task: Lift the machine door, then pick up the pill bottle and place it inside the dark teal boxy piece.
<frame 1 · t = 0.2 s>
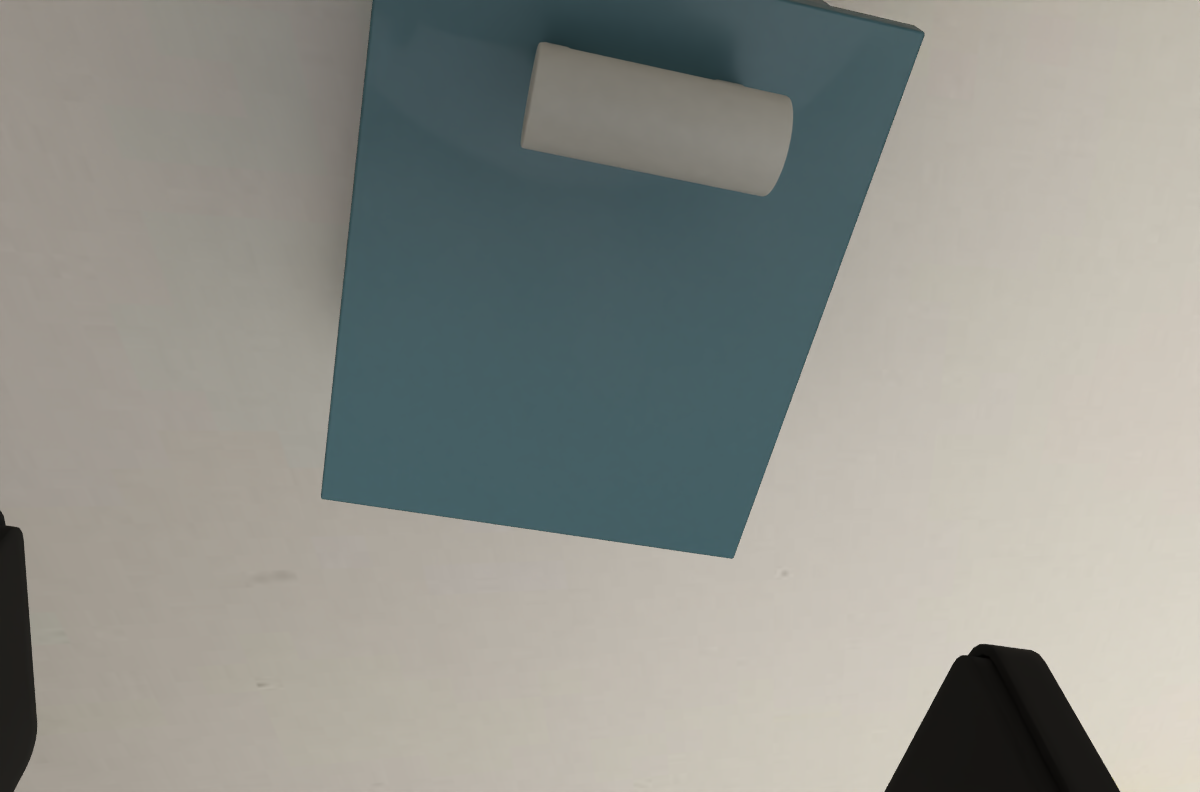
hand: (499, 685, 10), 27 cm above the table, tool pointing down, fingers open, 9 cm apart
machine door: (592, 325, 24), point 12 cm above the table, hinge at 0.0°
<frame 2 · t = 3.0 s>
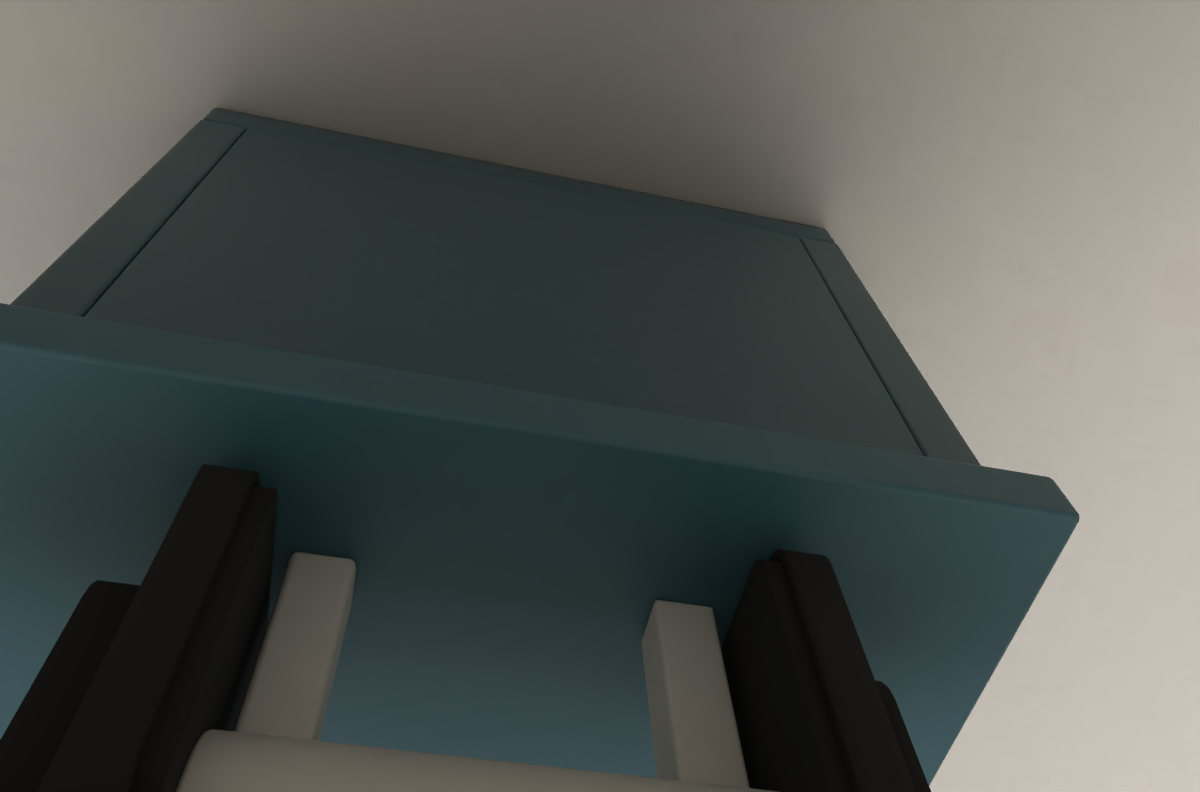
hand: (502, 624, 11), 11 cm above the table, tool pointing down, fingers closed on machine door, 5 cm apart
dark teal boxy piece: (475, 474, 23), on the table
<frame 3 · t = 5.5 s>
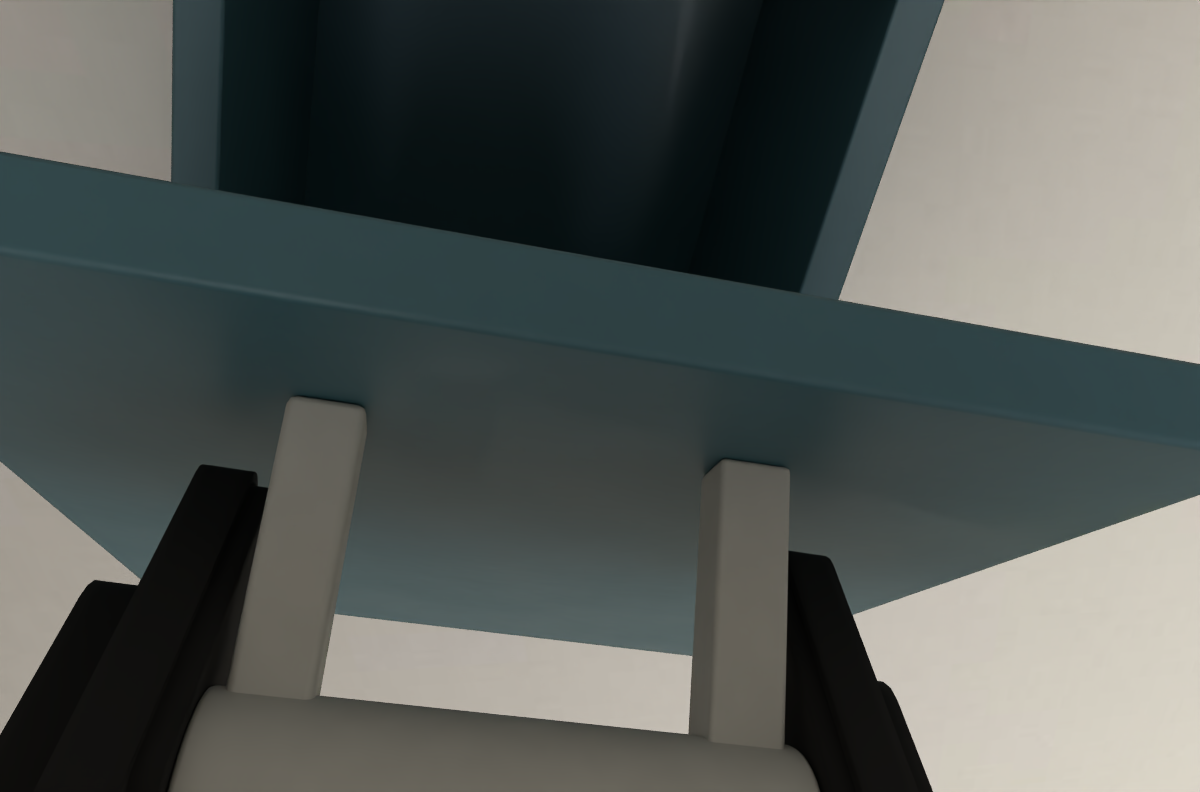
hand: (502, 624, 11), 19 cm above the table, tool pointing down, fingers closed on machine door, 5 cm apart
dark teal boxy piece: (517, 141, 27), on the table
machine door: (470, 688, 14), point 17 cm above the table, hinge at 39.5°, touching gripper
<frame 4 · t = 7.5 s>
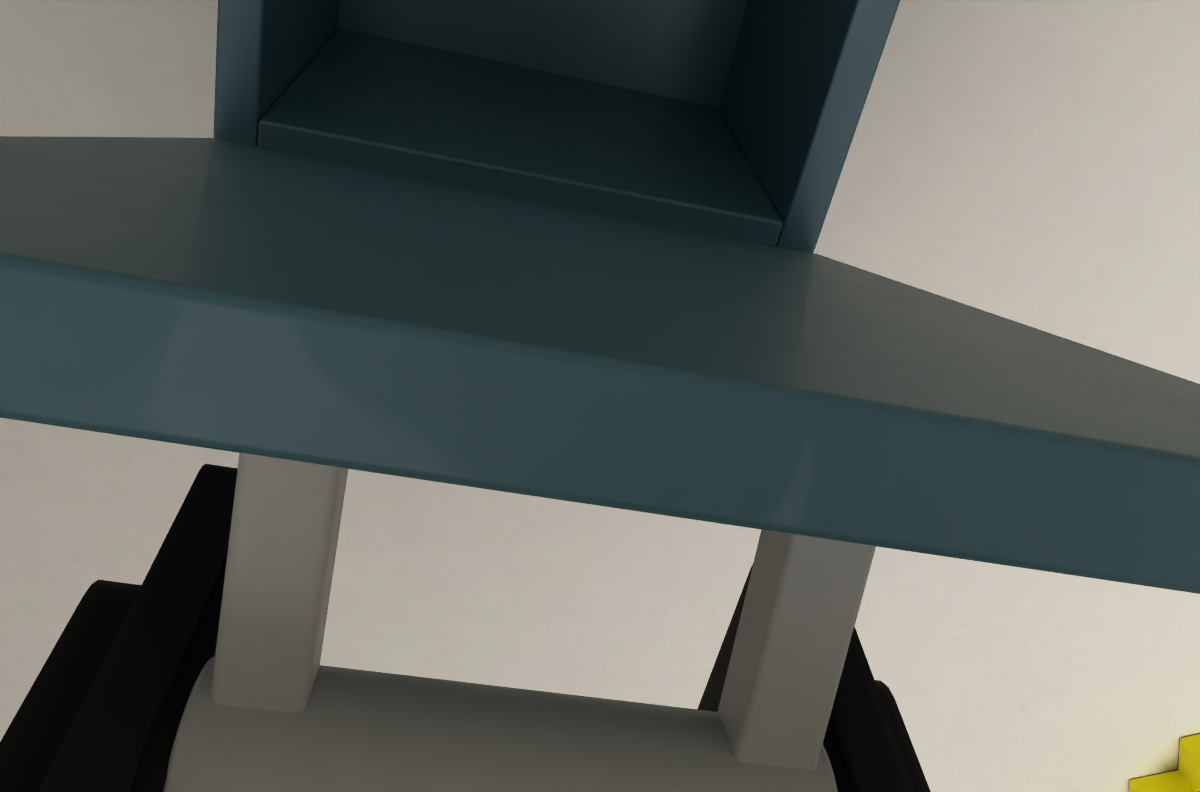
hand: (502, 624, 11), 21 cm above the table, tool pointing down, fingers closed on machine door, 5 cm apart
machine door: (517, 437, 13), point 18 cm above the table, hinge at 73.4°, touching gripper
crumpled paper: (1192, 789, 46), on the table
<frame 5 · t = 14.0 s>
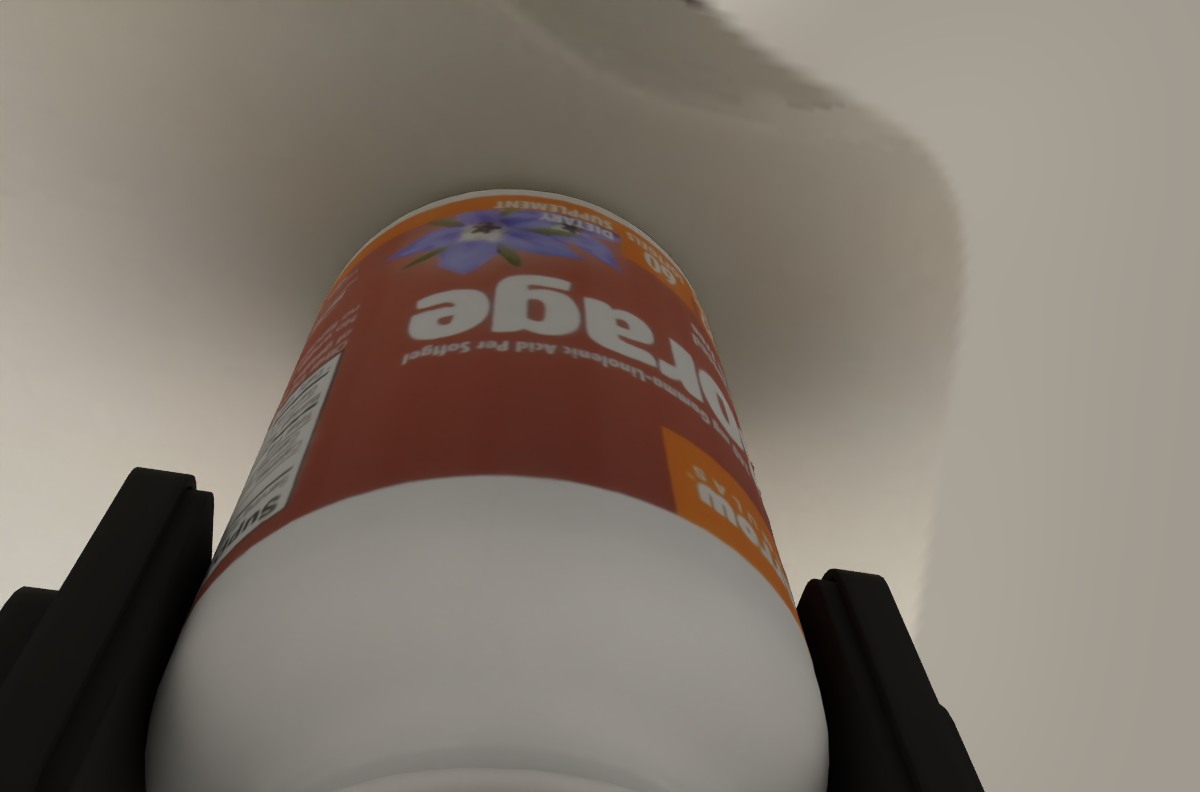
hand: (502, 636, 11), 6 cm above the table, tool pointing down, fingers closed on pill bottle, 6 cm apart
pill bottle: (514, 358, 16), on the table, touching gripper
when the fingers open (9 cm above the table, at t = 23.8 s): pill bottle stays where it is, resting on dark teal boxy piece.
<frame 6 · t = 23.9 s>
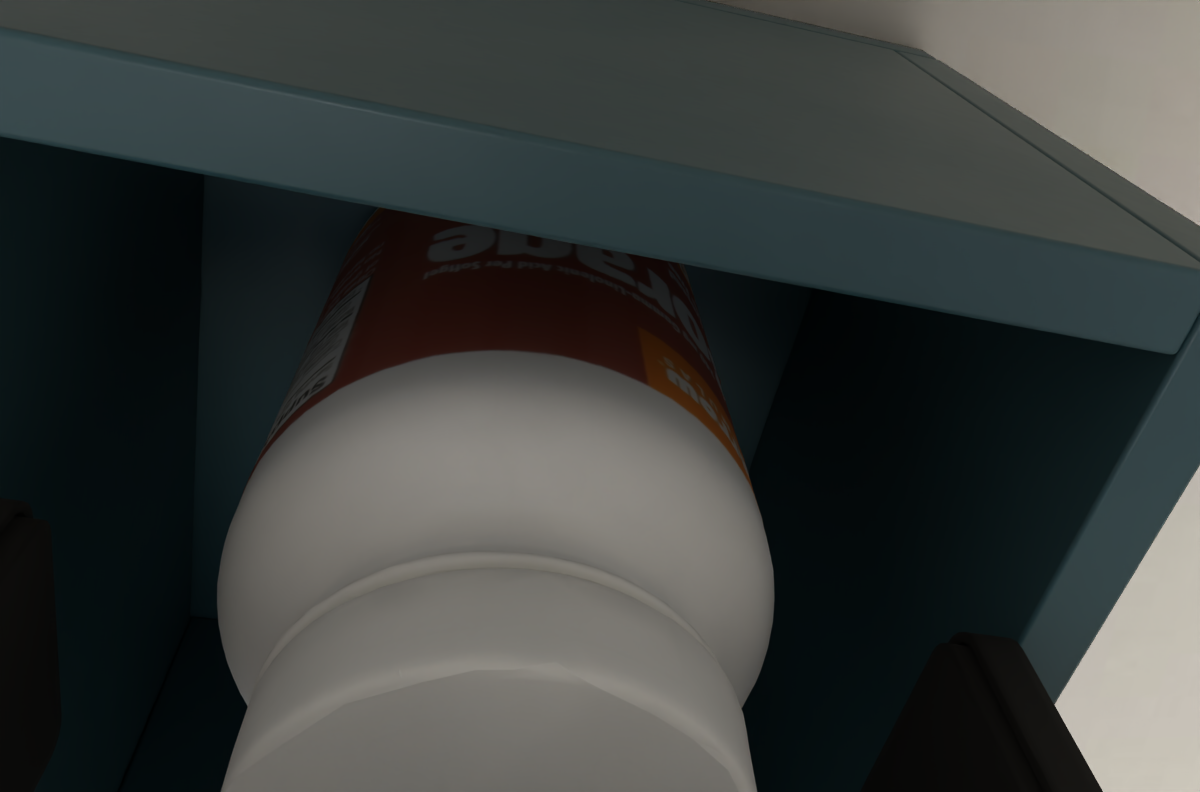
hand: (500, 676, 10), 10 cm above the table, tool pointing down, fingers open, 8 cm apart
dark teal boxy piece: (494, 367, 20), on the table
pill bottle: (515, 306, 18), point 1 cm above the table, touching dark teal boxy piece
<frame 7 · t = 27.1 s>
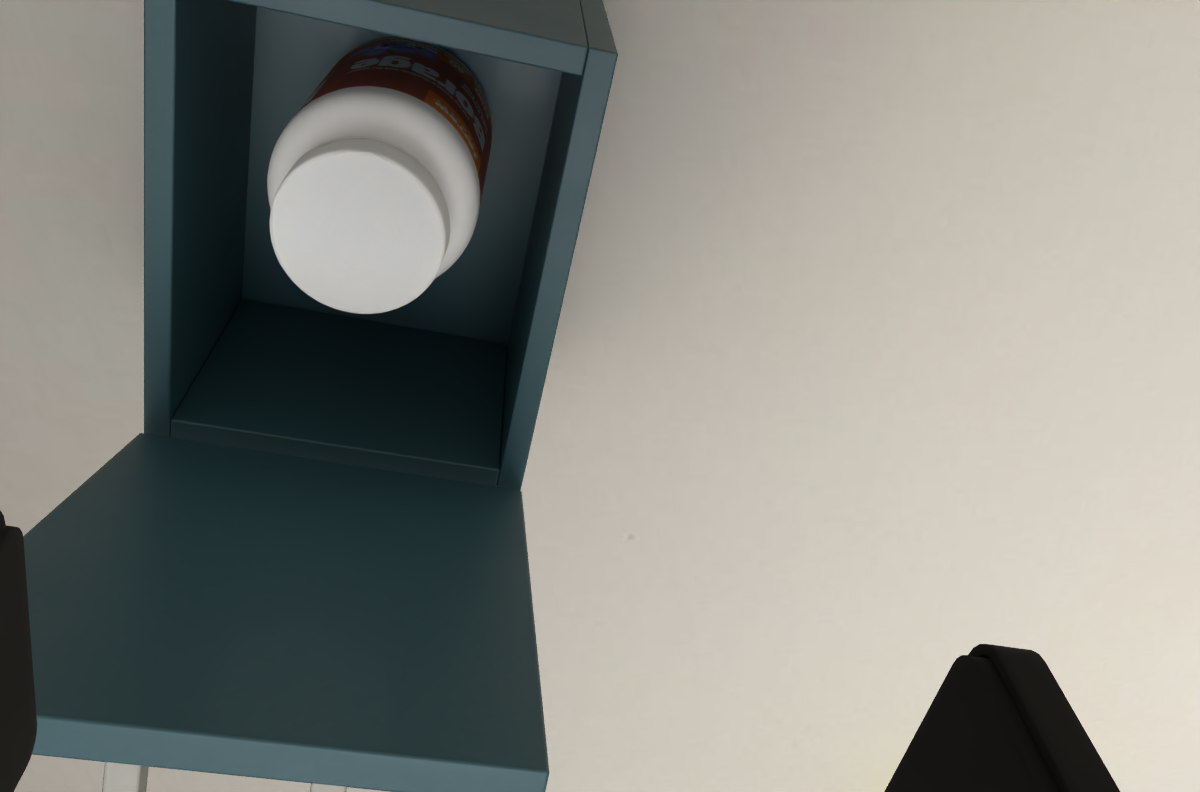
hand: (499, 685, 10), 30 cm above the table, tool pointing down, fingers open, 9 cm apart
dark teal boxy piece: (399, 158, 38), on the table
pill bottle: (406, 120, 37), point 1 cm above the table, touching dark teal boxy piece
machine door: (279, 654, 26), point 18 cm above the table, hinge at 73.8°
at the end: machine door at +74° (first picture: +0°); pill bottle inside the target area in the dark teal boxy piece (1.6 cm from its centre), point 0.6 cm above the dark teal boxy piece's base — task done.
